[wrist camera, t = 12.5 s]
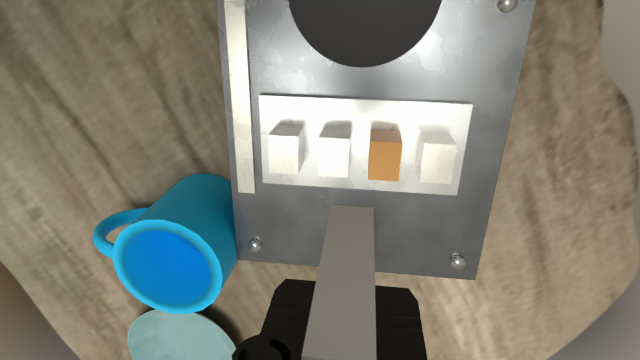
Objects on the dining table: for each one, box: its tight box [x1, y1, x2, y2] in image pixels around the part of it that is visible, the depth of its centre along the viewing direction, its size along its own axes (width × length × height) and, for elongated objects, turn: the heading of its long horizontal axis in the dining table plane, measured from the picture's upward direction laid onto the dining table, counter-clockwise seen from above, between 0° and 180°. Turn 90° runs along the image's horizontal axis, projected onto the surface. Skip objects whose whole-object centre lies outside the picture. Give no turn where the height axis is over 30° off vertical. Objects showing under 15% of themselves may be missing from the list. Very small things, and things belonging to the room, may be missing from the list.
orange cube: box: [368, 129, 403, 182], centre depth 23 cm, size 2×2×2 cm
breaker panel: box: [216, 0, 536, 280], centre depth 26 cm, size 20×18×8 cm
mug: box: [93, 174, 237, 314], centre depth 31 cm, size 12×8×8 cm
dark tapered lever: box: [288, 0, 442, 68], centre depth 15 cm, size 3×3×16 cm
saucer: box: [127, 309, 236, 360], centre depth 40 cm, size 12×12×2 cm
